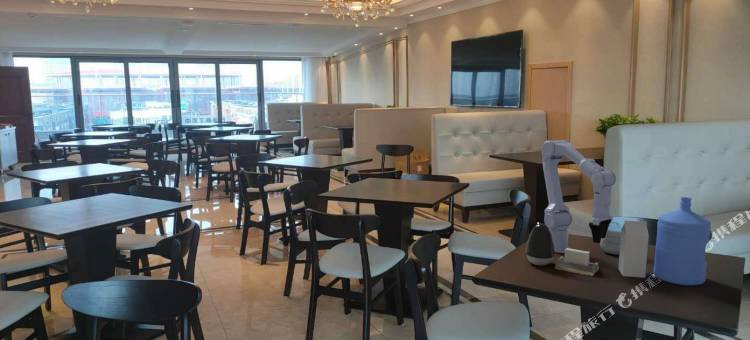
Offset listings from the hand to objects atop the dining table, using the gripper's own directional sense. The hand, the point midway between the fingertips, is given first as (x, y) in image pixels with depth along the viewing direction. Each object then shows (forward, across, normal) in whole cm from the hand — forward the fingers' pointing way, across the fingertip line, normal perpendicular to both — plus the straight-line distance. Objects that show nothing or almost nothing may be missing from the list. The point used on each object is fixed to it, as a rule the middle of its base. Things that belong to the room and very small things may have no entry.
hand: (599, 240), depth 195 cm
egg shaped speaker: (+10, -11, +18) cm, 23 cm away
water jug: (+10, +2, -26) cm, 28 cm away
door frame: (+9, -9, +5) cm, 14 cm away
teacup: (+10, +19, -3) cm, 22 cm away
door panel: (+9, -9, +5) cm, 13 cm away
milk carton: (+10, -3, -12) cm, 16 cm away
